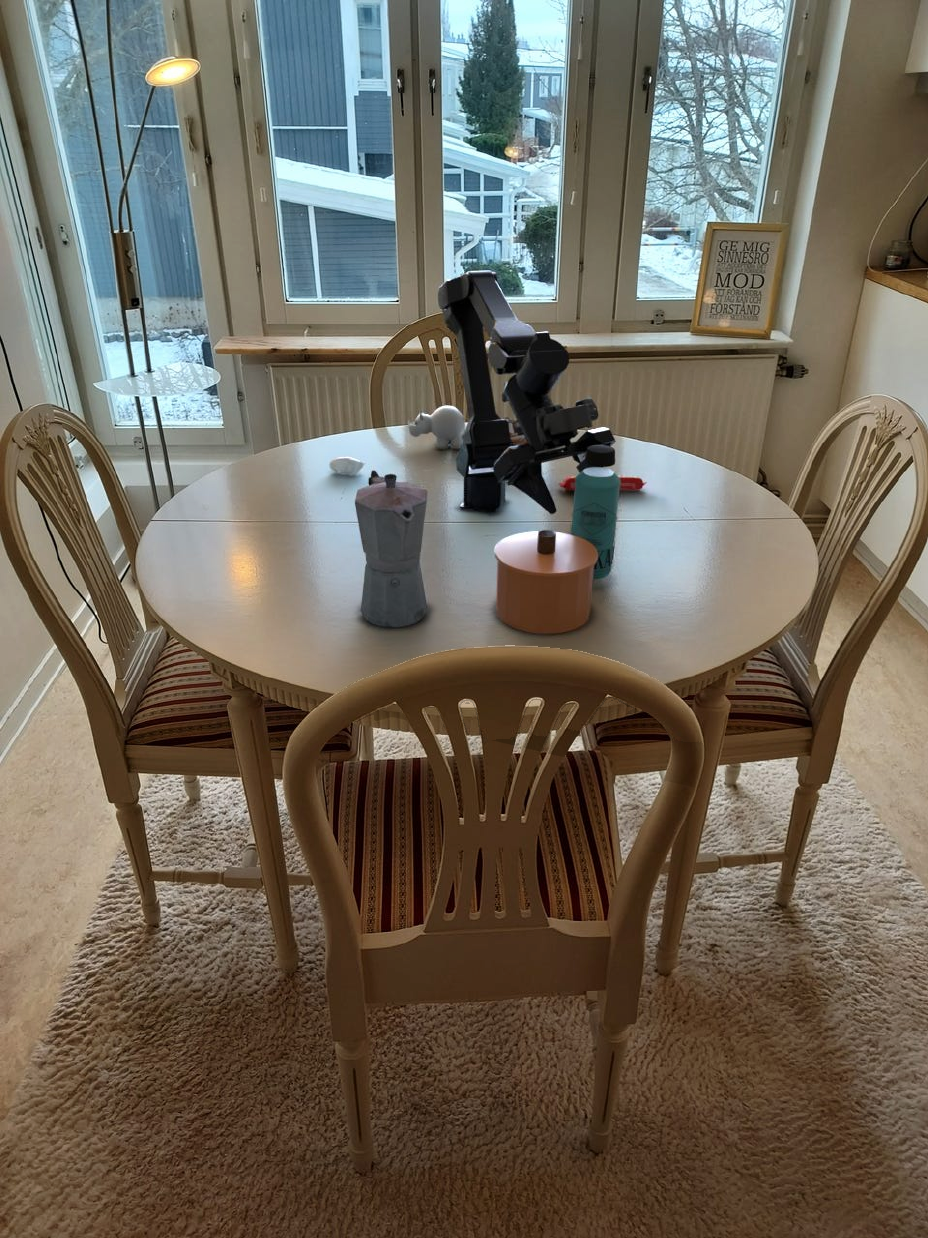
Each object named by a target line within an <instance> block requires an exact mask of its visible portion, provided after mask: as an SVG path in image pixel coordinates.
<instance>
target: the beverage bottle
mask: <svg viewBox="0 0 928 1238" xmlns="http://www.w3.org/2000/svg"><path fill="white" fill-rule="evenodd" d="M585 463H586V464H588V465H590V466H595V467H590V468H586V469H584V470H583V471H582V472H578V474H577V475H575V476H576V478H575V482H576V483H575V491H574V496H573V506H572V507H573V508H572V513H571V521H570V527H569V530H570V531H569V534H570V535H574V536H577V537H580V538H582V539H584V540H586V541H588V542H590V543H591V544H592V545H593V546H594V547H595V548H596V549H597V552H598V560H597V562H596V563H595V565H594V573H593V580H601V579H604V578H606V577H608V576H609V575H610V573H611V571H612V570H613V568H612V566H613V561H614V555H615V544H616V542H615V541H616V537H617V535H616V530H618V529H617V521H618V507H619V506H618V505H619V498H620V497H619V496H620V491H619V488H620V484H621V480H620V478H619V477H618V476H619V475H617V473H616V472H615V471H614V470H613V469H610V467H613V466H615V464H616V449H615V447H612V446H611V447H610V446H606V445H592V446H589V447H588V448H587V450H586V456H585ZM601 467H604V468H601ZM608 467H609V468H608Z"/></svg>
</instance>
